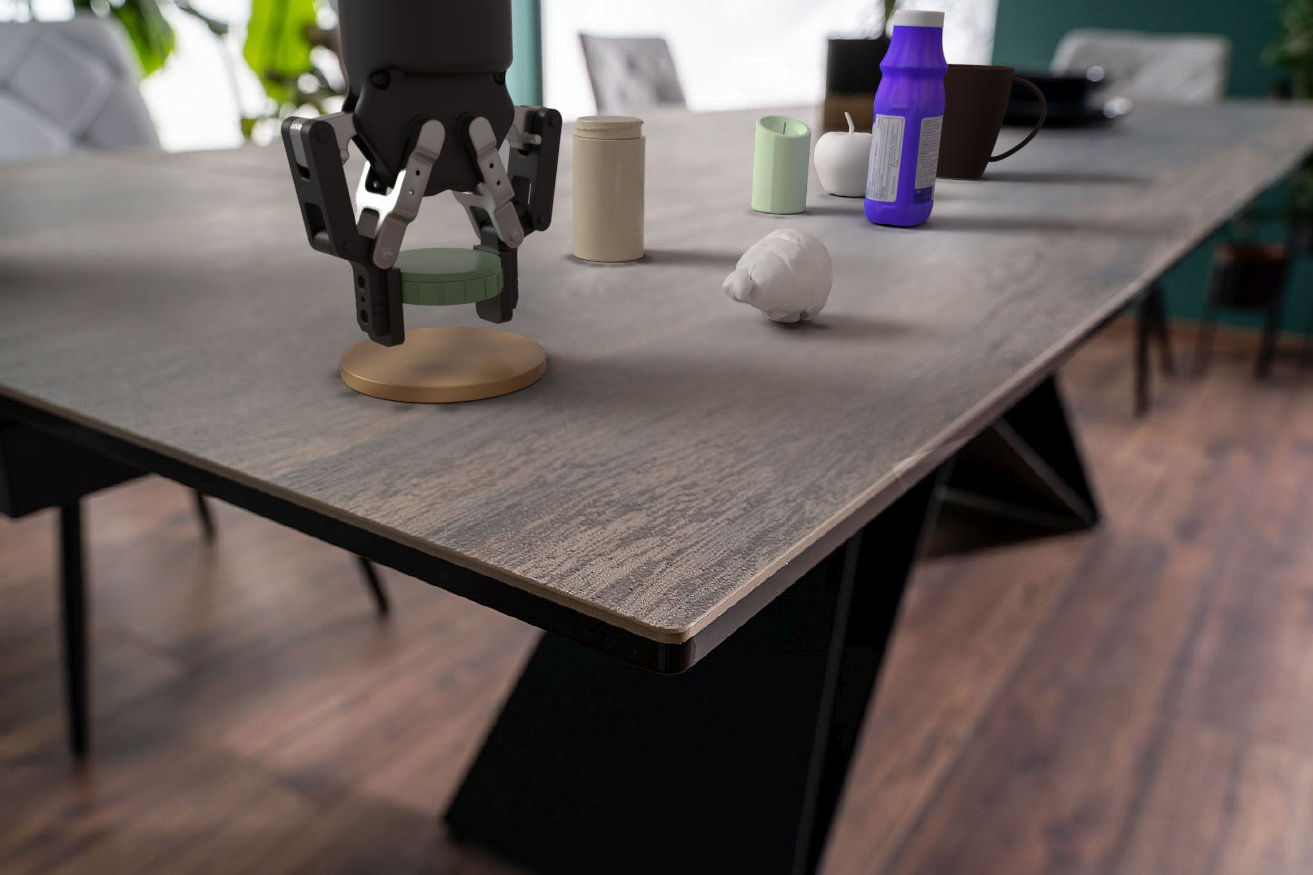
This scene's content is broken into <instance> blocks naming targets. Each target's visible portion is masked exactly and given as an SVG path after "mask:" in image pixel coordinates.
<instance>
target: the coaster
mask: <svg viewBox="0 0 1313 875" xmlns="http://www.w3.org/2000/svg"><path fill="white" fill-rule="evenodd" d="M404 330H405V329H404ZM339 358H340V359H339V369H340V377H341V379H342V381H343V382H344V384H345V385H347V386H348V387H349V388H351V389H353V390H354V391H356V392H359V393H361V394H364V395H367V396H371V397H374V398H379V399H383V400H388V401H389V400H391V401H396V402H407V403H421V404H422V403H423V404H424V403H425V404H426V403H427V404H428V403H430V404H433V403H434V404H436V403H437V404H438V403H439V404H440V403H442V404H443V403H458V402H459V403H460V402H469V401H476V400H484V399H489V398H495V397H499V396H504V395H507V394H510V393H514V392H518V391H519V390H522V389H524V388H526V387H529V386H531V385H533V384H534V383H536V382H537V381H539V380H540V379H541V378H543V375H544V374H545V372H546V368H547V360H546V359H547V355H546V350H545V348H544V347H543V346H542V345H541V344H540V343H539V342H537V341H536V340H533V339H532V338H529V337H527V336H524V335H521V334H519V333H515V332H511V331H505V330H500V329H492V328H484V327H474V326H473V327H471V326H469V327H468V326H438V327H437V326H435V327H423V328H412V329H406V330H405V341H404V343H403V344H402V345H397V346H392V347H386V346H383V345H381V344H378V343H376V342H373V341H372V340H371V339H370V338H369V337H368V338H367V339H364V340H360V341H359V342H357V343H355V344H353V345H351V346H350V347H348V348H346V350H344V351H343V352H342V354H341V356H340V357H339Z"/></svg>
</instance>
